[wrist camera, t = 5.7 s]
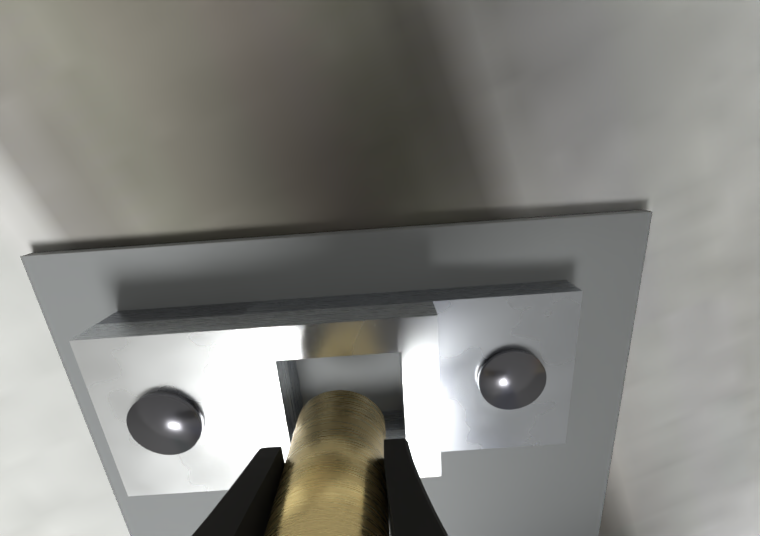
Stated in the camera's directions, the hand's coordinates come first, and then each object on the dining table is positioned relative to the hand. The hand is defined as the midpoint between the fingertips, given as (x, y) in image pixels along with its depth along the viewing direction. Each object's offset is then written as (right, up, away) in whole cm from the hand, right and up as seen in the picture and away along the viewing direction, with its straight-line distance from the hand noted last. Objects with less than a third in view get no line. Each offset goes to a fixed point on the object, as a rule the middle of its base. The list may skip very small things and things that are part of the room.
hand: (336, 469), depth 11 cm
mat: (0, -1, +6) cm, 6 cm away
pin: (0, +1, +2) cm, 2 cm away
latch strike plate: (0, +2, +5) cm, 6 cm away
